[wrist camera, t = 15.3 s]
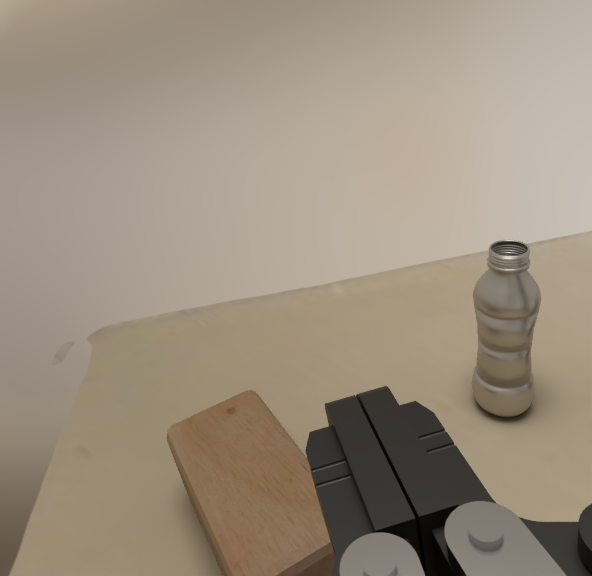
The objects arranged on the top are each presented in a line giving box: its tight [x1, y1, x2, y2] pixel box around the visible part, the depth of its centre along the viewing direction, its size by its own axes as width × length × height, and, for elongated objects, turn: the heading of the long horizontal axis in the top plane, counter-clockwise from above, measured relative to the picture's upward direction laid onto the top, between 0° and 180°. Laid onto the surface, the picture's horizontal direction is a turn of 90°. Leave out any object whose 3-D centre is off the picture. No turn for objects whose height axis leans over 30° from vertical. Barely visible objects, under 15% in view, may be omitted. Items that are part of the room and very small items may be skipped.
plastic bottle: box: [472, 240, 541, 417], centre depth 55 cm, size 6×7×20 cm
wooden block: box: [167, 390, 335, 576], centre depth 47 cm, size 10×10×20 cm
